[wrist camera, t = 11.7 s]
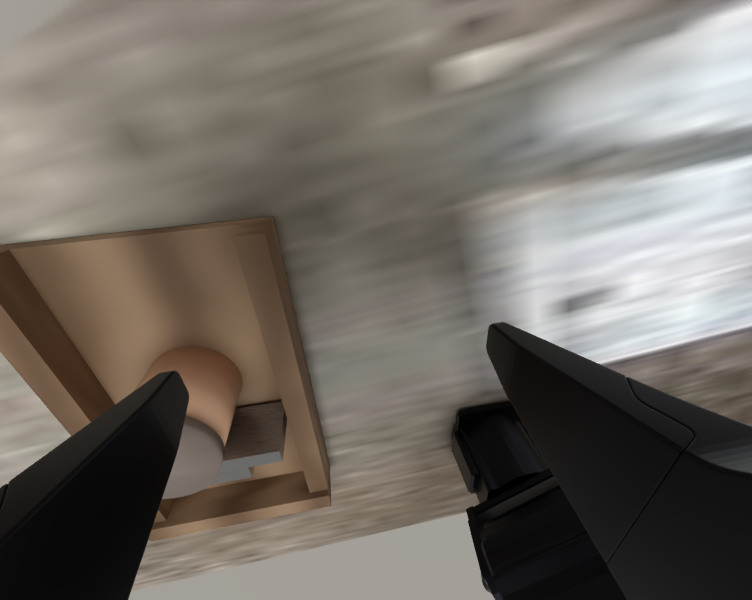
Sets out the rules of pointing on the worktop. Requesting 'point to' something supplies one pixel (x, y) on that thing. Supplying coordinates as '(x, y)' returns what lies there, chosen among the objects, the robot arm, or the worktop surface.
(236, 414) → the pusher
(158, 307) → the tray
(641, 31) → the worktop surface
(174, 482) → the jar
